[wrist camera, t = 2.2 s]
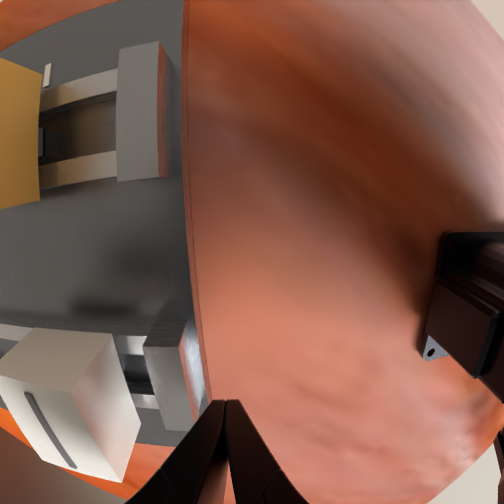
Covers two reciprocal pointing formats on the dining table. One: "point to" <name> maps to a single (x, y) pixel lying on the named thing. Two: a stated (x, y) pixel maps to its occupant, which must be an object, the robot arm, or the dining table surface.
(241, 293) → the dining table surface
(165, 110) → the console
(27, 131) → the fader amber
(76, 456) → the fader ivory
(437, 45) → the dining table surface
